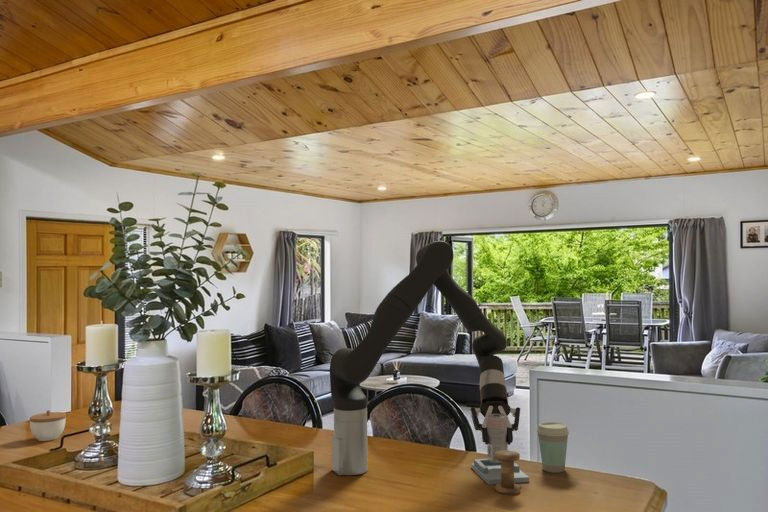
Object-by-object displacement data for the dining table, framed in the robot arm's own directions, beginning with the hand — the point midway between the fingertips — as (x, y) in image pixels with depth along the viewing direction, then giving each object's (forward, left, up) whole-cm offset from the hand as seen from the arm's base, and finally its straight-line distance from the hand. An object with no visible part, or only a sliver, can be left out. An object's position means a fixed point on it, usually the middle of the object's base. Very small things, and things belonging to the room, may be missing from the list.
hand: (498, 442), depth 162 cm
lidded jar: (-113, +99, -9) cm, 151 cm away
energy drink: (+1, +2, -5) cm, 6 cm away
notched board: (0, 0, -8) cm, 9 cm away
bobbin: (-5, -11, -8) cm, 14 cm away
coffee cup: (+16, -3, -9) cm, 19 cm away
